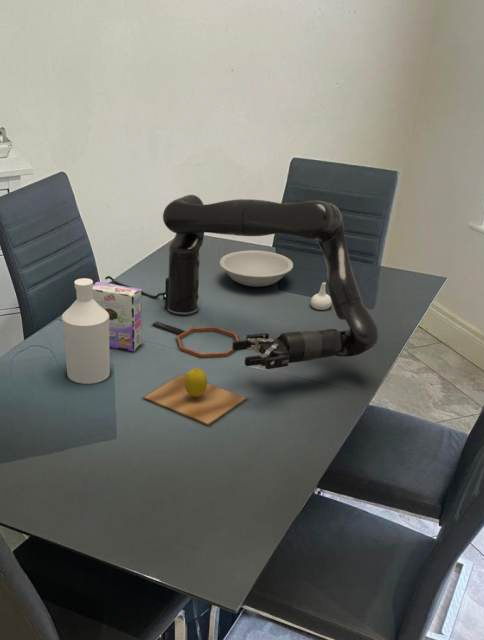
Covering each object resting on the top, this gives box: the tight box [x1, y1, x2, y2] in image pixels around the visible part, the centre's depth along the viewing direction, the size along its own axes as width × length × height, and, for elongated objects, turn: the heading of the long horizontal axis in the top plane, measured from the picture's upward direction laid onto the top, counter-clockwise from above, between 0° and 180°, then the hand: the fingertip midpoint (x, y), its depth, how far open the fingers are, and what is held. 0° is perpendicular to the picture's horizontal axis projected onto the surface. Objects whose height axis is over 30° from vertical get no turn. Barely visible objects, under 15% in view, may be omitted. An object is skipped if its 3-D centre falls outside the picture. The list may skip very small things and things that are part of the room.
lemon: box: [185, 367, 208, 398], centre depth 183 cm, size 6×6×8 cm
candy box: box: [92, 281, 143, 352], centre depth 205 cm, size 14×6×16 cm, turn 65°
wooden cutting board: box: [143, 373, 247, 426], centre depth 186 cm, size 20×16×1 cm
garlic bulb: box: [310, 281, 332, 311], centre depth 228 cm, size 6×6×8 cm
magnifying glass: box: [152, 321, 240, 358], centre depth 213 cm, size 28×17×1 cm, turn 50°
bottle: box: [61, 277, 111, 385], centre depth 189 cm, size 12×12×25 cm
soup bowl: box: [219, 249, 294, 288], centre depth 244 cm, size 24×24×7 cm
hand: (239, 353), depth 181 cm, fingers open, 8 cm apart
